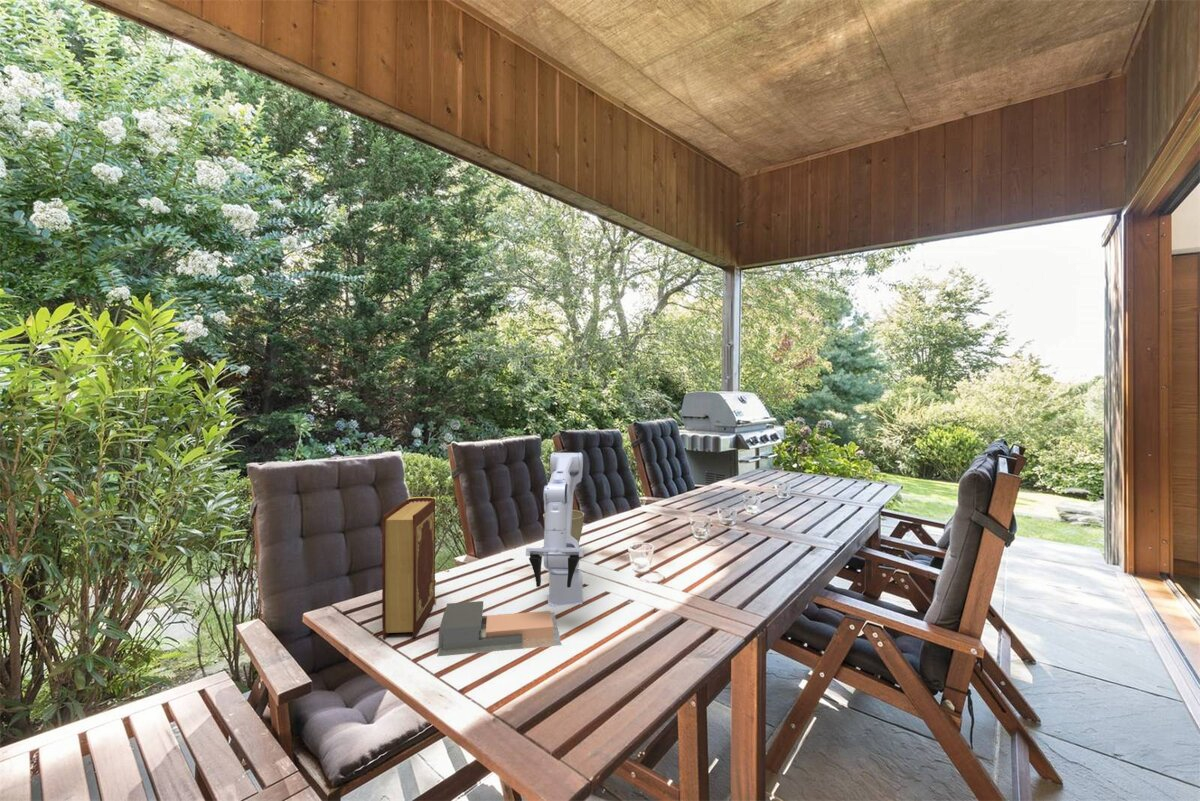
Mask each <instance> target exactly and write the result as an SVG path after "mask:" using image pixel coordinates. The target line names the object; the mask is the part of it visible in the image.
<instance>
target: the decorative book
mask: <svg viewBox="0 0 1200 801" xmlns="http://www.w3.org/2000/svg"><path fill="white" fill-rule="evenodd" d="M436 504H437V498H436V497H434V496H433V497H432V496H414V497H408V498H406V499H405V500H404V501H402V502H401V503H399V504H398V505H397V506H395V507H393V508H392V509H390V510H389V511H387V512H386V513H385V514H384V515H383V518H382V533H381V534H382V537H381V538H382V542H381V546H382V547H381V548H382V549H381V550H382V551H381V554H382V558H381V559H382V560H381V568H382V572H381V573H382V574H381V576H382V578H381V580H382V581H381V585H382V586H381V590H382V591H381V594H382V596H381V598H382V599H381V600H382V601H381V602H382V604H381V605H382V606H381V608H382V609H381V610H382V611H381V616H382V617H381V618H382V621H381V622H382V637H383V638H382V639H383V640H384V641H385V640H386V639H387V636H388V635H389V633H390V634H393V633H395V634H396V633H397V634H398V633H412V639H413V638H414V637H415V638H416V636H417V635H418V634H417V633H419V632H420V631H419V630H421V629H422V627H423V625H424V624H425V622H426V620H427V619H428V617H429V615H430V614H431V612H432V610H433V608H434V606H435V605H436V604H437V598H436V585H437V580H436V570H437V565H436V536H437V532H436V522H437V517H436ZM415 638H414V639H415Z"/></svg>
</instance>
